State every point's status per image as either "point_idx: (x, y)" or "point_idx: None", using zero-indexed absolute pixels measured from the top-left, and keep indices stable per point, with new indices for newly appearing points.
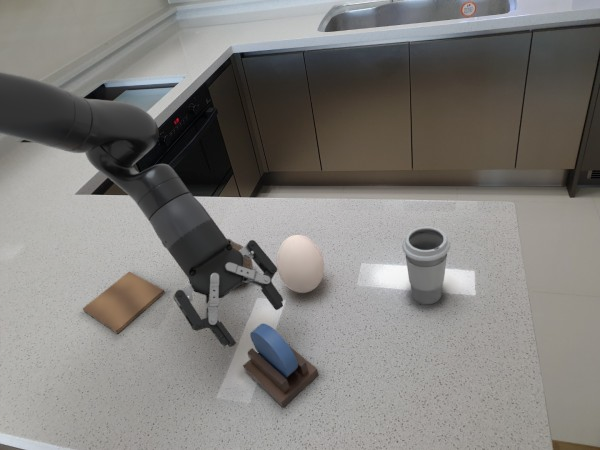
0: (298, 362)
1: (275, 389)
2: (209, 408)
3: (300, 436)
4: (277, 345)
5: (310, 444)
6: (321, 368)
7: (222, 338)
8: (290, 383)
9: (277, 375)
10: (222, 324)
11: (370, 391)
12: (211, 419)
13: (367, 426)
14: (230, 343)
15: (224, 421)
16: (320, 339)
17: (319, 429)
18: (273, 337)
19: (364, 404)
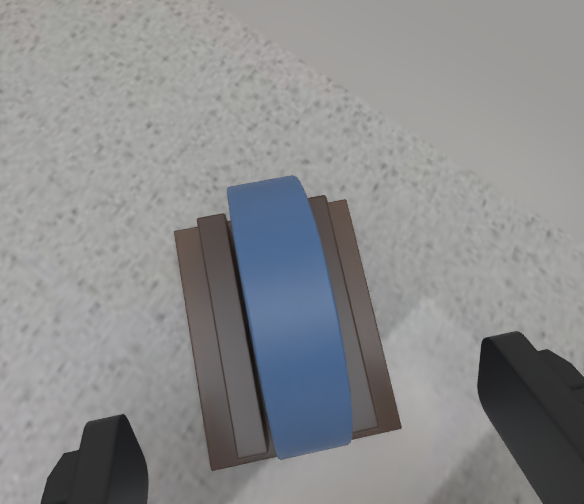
0: (221, 234)
1: (339, 251)
2: None
3: (340, 110)
4: (279, 206)
5: (328, 77)
6: (158, 256)
7: (574, 387)
8: None
9: (321, 235)
10: (581, 447)
11: (91, 99)
12: (562, 321)
13: (171, 29)
14: (525, 337)
15: (524, 287)
16: (81, 366)
17: (284, 95)
18: (274, 247)
19: (134, 79)
